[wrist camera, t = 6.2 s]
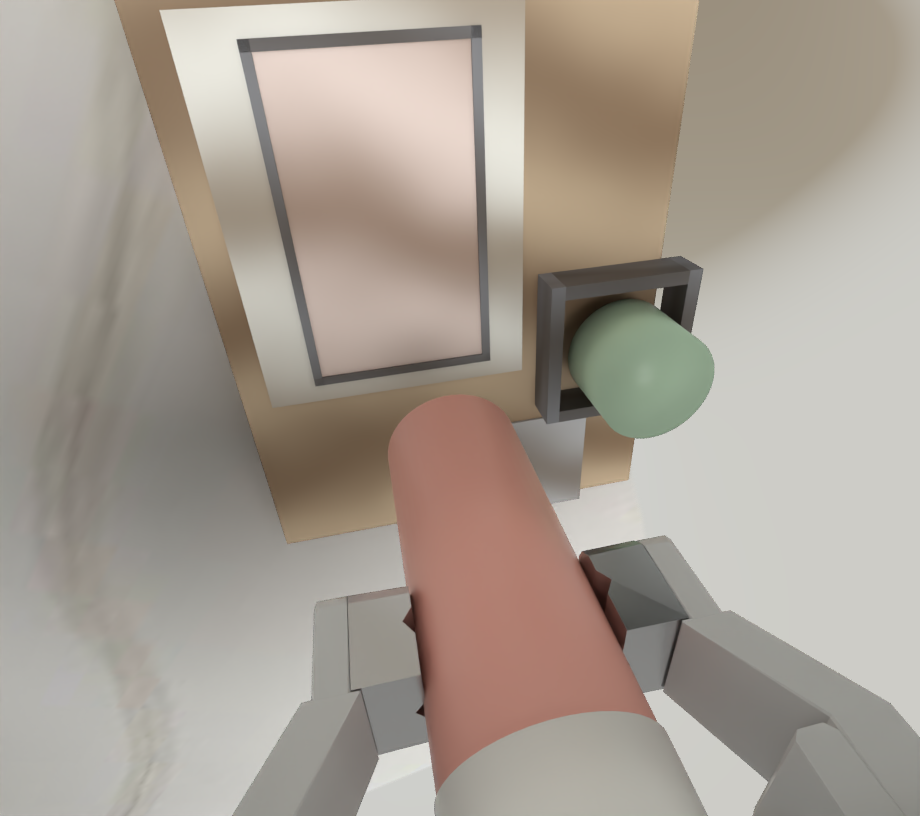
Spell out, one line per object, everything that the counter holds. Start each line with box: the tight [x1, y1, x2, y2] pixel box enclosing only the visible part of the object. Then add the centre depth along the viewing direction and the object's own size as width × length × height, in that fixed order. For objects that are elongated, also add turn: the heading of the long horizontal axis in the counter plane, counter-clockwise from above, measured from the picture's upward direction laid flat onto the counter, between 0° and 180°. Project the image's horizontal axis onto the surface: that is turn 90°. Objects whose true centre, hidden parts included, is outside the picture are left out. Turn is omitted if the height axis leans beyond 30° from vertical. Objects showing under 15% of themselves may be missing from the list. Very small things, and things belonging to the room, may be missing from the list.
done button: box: [568, 299, 714, 438], centre depth 20 cm, size 4×4×3 cm
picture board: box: [114, 0, 703, 544], centre depth 20 cm, size 20×17×3 cm
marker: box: [388, 394, 708, 816], centre depth 9 cm, size 3×3×10 cm
